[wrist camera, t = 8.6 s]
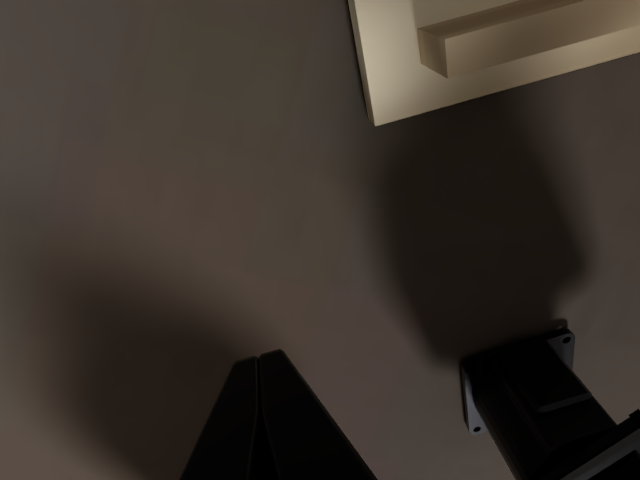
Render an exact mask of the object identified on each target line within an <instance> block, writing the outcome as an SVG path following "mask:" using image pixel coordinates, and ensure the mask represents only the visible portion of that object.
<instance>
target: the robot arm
mask: <svg viewBox="0 0 640 480" xmlns="http://www.w3.org/2000/svg"><path fill="white" fill-rule="evenodd" d="M574 344H575V335H574V334H573V333H572V332H571V331H570V330H569V329H561V330H558V331H554V332H551V333H548V334H544V335H541V336H538V337H535V338H531V339H528V340H525V341H521V342H518V343H515V344H511V345H508V346H505V347H501V348H498V349H495V350H491V351H488V352H485V353H482V354H478V355H475V356H472V357H469V358H466V359H465V360H464V361H463V362H462V364H461V370H462V381H463V392H464V403H465V414H466V425H467V428H468V430H469V432H470V434H472V435H476V434H480V433H483V432H487V431H489V433H490V435H491V436H492V438H493V440H494V442H495V444H496V445H497V447H498V449H499V451H500V452H501V454H502V456H503V458H504V460H505V461H506V463H507V465H508V467H509V468H510V470H511V472H512V474H513V476H514V477H515V479H516V480H640V410H639V409H637V410H636V411H634V412H633V413H631V414H630V415H629V416H630V417H629V418H628V419H626V420H625V421H623V422H622V423H620V424H618V425H617V424H616V423H615V422H614V421H613V419H612V418H611V417H610V416H609V415H608V413H607V412H606V411H605V410H604V409H603V408H602V406H601V405H600V404H599V403H598V402H597V400H596V399H595V398H594V397H593V396H592V394H591V392H590V391H589V390H588V389H587V388H586V386H585V385H584V384H583V383H582V382H581V380H580V379H579V378H578V377H577V376H576V375H575V373H574V372H573V371H572V366H573V355H574ZM179 480H378V479H377V478H376V477H375V475H374V474H373V473H372V471H371V470H370V469H369V467H368V466H367V464H366V463H365V462H364V460H363V459H362V458H361V456H360V455H359V454H358V452H357V451H356V449H355V448H354V447H353V445H352V444H351V443H350V441H349V440H348V439H347V437H346V436H345V434H344V433H343V432H342V430H341V429H340V428H339V426H338V425H337V424H336V422H335V421H334V419H333V418H332V417H331V415H330V414H329V413H328V411H327V410H326V409H325V407H324V406H323V404H322V403H321V402H320V400H319V399H318V398H317V396H316V395H315V394H314V392H313V391H312V389H311V388H310V387H309V385H308V384H307V383H306V381H305V380H304V379H303V377H302V376H301V374H300V373H299V372H298V370H297V369H296V368H295V366H294V365H293V364H292V362H291V361H290V359H289V358H288V357H287V355H286V354H285V353H284V351H282V350H281V349H278V350H274V351H270V352H267V353H263V354H261V355H260V357H259V358H258V357H257V356H252V357H249V358H245V359H241V360H238V361H236V362H235V363H234V364H233V366H232V368H231V370H230V372H229V374H228V377H227V379H226V381H225V383H224V385H223V387H222V389H221V391H220V394H219V396H218V398H217V400H216V402H215V404H214V406H213V408H212V411H211V413H210V415H209V417H208V419H207V421H206V423H205V426H204V428H203V430H202V432H201V434H200V436H199V438H198V440H197V443H196V445H195V447H194V449H193V451H192V453H191V455H190V458H189V460H188V462H187V464H186V466H185V468H184V470H183V472H182V475H181V477H180V479H179Z"/></svg>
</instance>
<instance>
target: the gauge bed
mask: <svg viewBox="0 0 640 480" xmlns="http://www.w3.org/2000/svg"><path fill="white" fill-rule="evenodd" d="M348 4H349V9H350V15H351V21H352V27H353V33H354V38H355V44H356V50H357V56H358V62H359V67H360V73H361V79H362V85H363V91H364V96H365V102H366V108H367V114H368V119H369V120H370V121H371V122H372V123H373V124H374V126H379V125H382V124H386V123H389V122H393V121H396V120H400V119H403V118H407V117H411V116H414V115H418V114H421V113H425V112H428V111H432V110H435V109H439V108H442V107H446V106H450V105H453V104H457V103H460V102H464V101H467V100H471V99H474V98H478V97H481V96H485V95H489V94H492V93H496V92H499V91H503V90H506V89H510V88H513V87H517V86H520V85H524V84H528V83H531V82H535V81H538V80H542V79H545V78H549V77H552V76H556V75H559V74H563V73H567V72H570V71H574V70H577V69H581V68H584V67H588V66H591V65H595V64H598V63H602V62H606V61H609V60H613V59H616V58H620V57H623V56H627V55H630V54H634V53H637V52H640V0H348Z"/></svg>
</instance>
